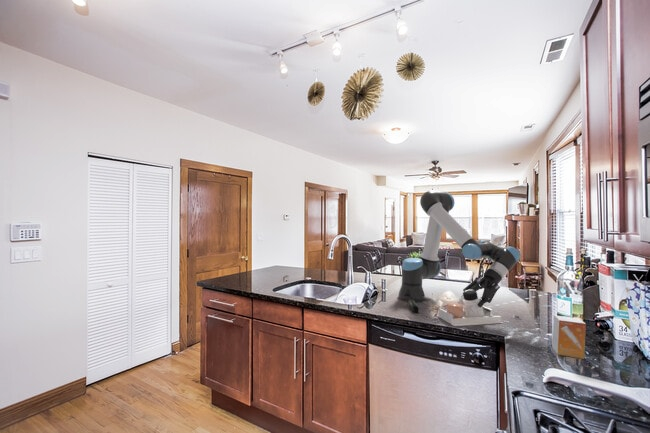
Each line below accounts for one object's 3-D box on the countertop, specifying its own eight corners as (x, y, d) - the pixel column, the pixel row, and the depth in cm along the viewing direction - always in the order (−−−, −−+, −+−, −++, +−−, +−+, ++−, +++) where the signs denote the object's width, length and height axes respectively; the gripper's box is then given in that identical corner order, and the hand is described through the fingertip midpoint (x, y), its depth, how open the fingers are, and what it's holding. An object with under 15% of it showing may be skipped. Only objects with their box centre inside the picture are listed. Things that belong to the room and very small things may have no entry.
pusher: (477, 314, 151) (477, 304, 151) (484, 313, 152) (485, 303, 152) (490, 320, 143) (490, 309, 143) (497, 319, 144) (498, 309, 144)
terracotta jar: (443, 317, 146) (443, 303, 146) (456, 316, 148) (456, 302, 148) (452, 322, 139) (452, 307, 139) (465, 322, 141) (466, 307, 141)
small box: (557, 355, 112) (558, 319, 111) (551, 348, 118) (553, 314, 117) (584, 359, 109) (586, 323, 108) (577, 352, 115) (579, 317, 114)
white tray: (436, 317, 149) (436, 307, 149) (481, 314, 155) (481, 304, 155) (454, 328, 136) (454, 317, 135) (502, 324, 141) (503, 314, 141)
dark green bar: (419, 306, 151) (412, 297, 166) (413, 306, 151) (406, 296, 166) (419, 316, 152) (411, 306, 166) (413, 316, 152) (406, 305, 167)
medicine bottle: (485, 316, 142) (479, 293, 140) (469, 319, 143) (463, 296, 142) (479, 309, 149) (474, 286, 147) (464, 312, 150) (459, 289, 149)
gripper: (518, 284, 138) (487, 321, 135) (483, 274, 159) (455, 305, 156) (509, 272, 136) (477, 309, 133) (475, 264, 158) (446, 295, 155)
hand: (465, 307), depth 145 cm, fingers closed on medicine bottle, 9 cm apart
